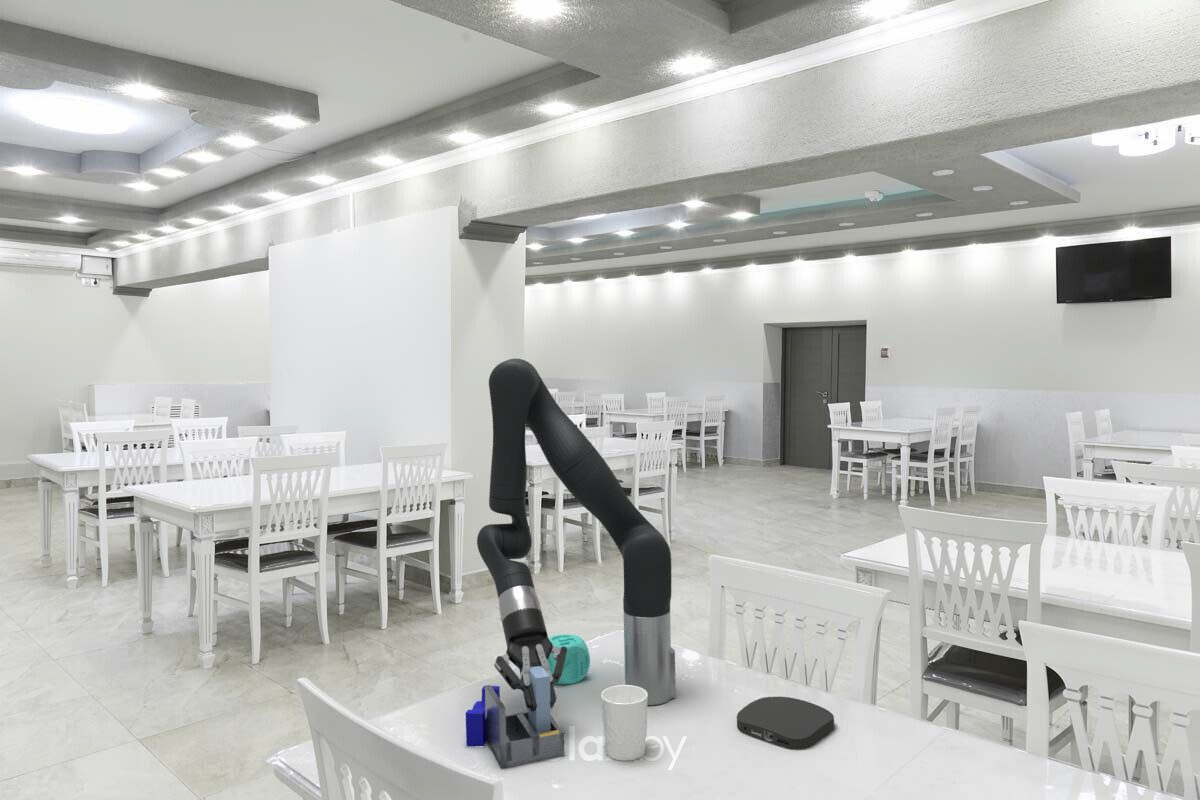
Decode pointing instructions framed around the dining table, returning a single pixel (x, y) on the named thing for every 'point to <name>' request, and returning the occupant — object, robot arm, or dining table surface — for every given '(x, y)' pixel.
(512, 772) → the dining table surface
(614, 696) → the white cup
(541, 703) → the light blue rectangular block
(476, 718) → the blue piece
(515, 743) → the grey compartment holder
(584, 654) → the decorative dice
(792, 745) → the media streaming box
